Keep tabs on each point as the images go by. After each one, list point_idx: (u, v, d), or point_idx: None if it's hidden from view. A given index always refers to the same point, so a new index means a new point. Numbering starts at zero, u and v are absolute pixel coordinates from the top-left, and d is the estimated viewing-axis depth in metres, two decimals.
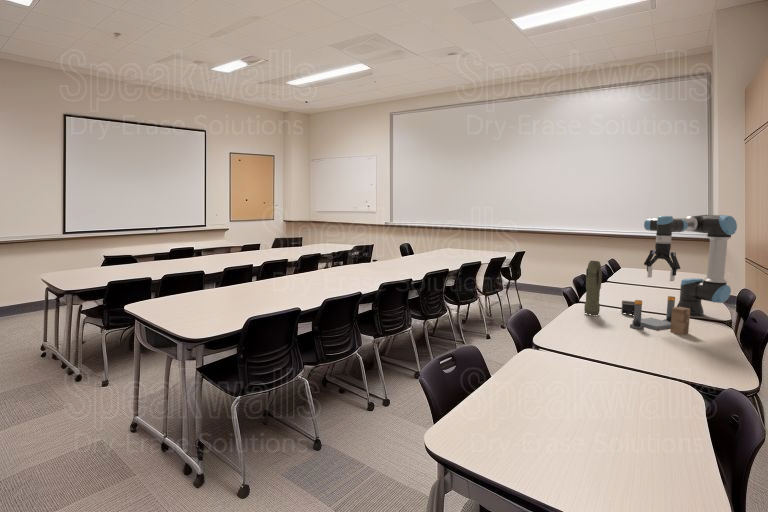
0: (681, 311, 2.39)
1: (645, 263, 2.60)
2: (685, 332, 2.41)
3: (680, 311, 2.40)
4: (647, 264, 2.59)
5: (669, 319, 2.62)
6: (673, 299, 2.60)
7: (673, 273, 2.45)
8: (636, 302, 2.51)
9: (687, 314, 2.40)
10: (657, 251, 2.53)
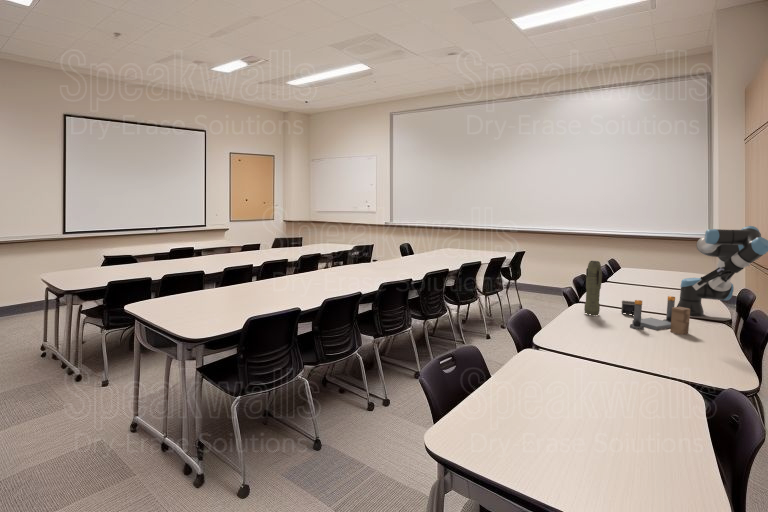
0: (681, 311, 2.39)
1: (705, 281, 2.21)
2: (685, 332, 2.41)
3: (680, 311, 2.40)
4: (706, 281, 2.21)
5: (669, 319, 2.62)
6: (673, 299, 2.60)
7: None
8: (636, 302, 2.51)
9: (687, 314, 2.40)
10: (727, 270, 2.17)
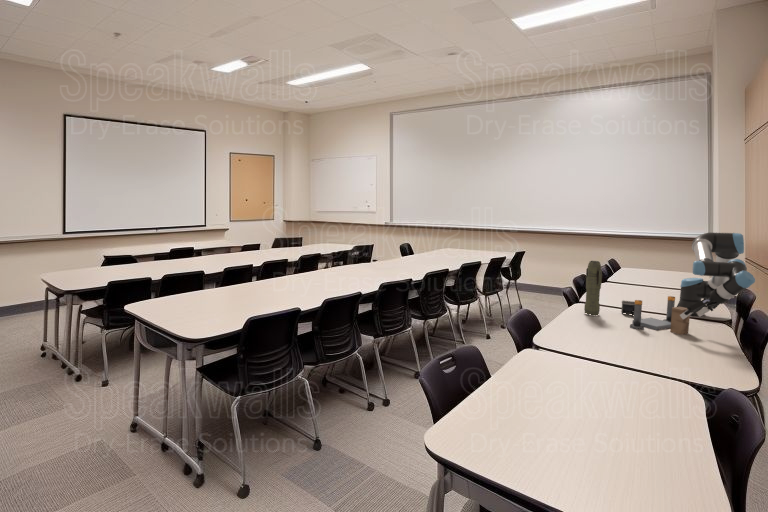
0: (681, 311, 2.39)
1: (692, 311, 2.27)
2: (685, 332, 2.41)
3: (680, 311, 2.40)
4: (693, 311, 2.28)
5: (669, 319, 2.62)
6: (673, 299, 2.60)
7: None
8: (636, 302, 2.51)
9: None
10: (712, 301, 2.24)
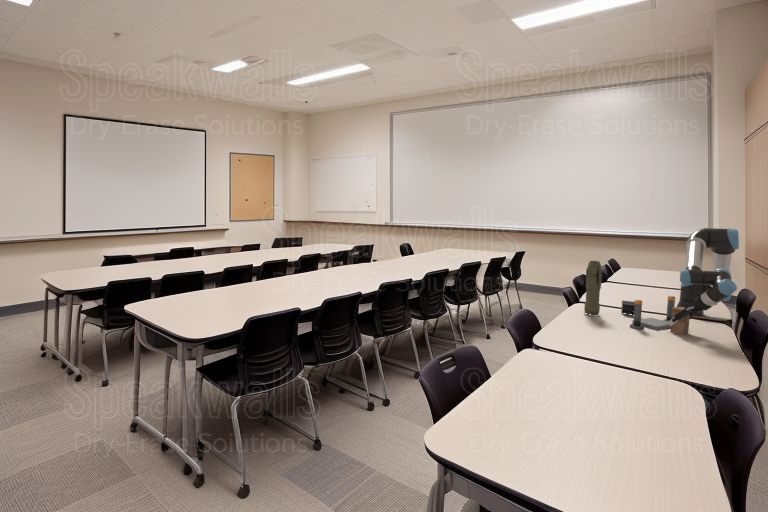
0: None
1: (679, 318, 2.38)
2: (685, 332, 2.41)
3: (680, 311, 2.40)
4: (679, 318, 2.39)
5: (669, 319, 2.62)
6: (673, 299, 2.60)
7: None
8: (636, 302, 2.51)
9: None
10: (697, 308, 2.32)
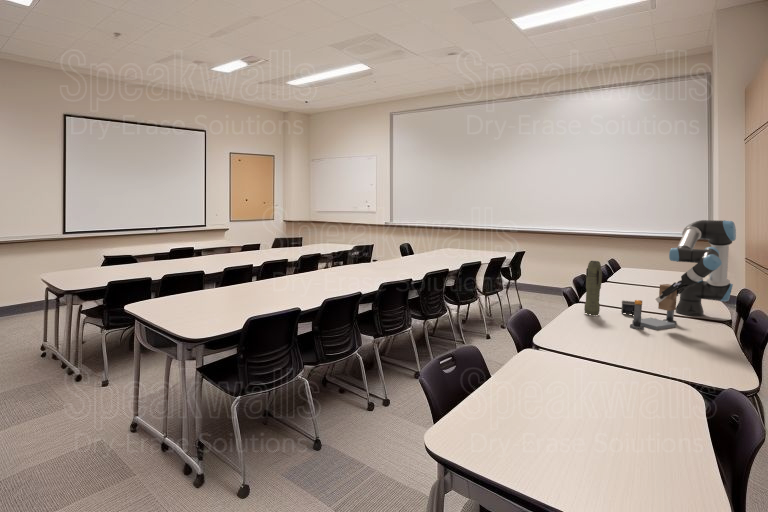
0: None
1: (666, 295, 2.43)
2: (672, 308, 2.47)
3: None
4: (667, 295, 2.44)
5: (669, 319, 2.62)
6: None
7: None
8: (636, 302, 2.51)
9: None
10: (683, 284, 2.37)
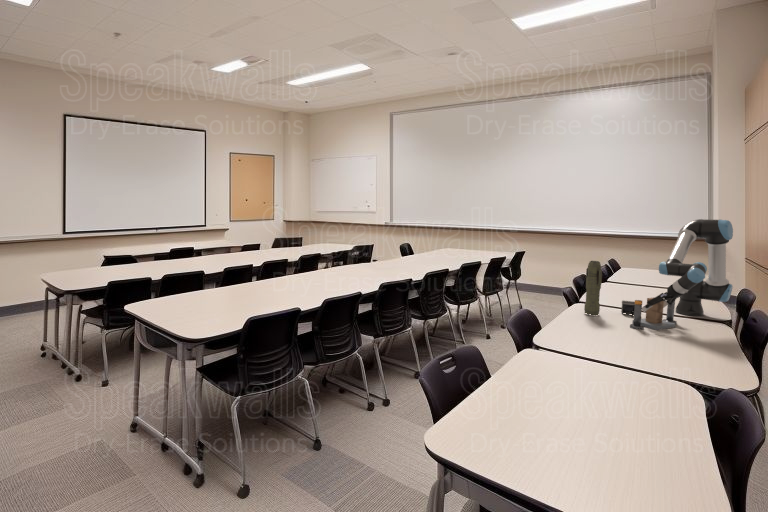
0: None
1: (651, 304, 2.50)
2: (659, 321, 2.56)
3: None
4: (652, 304, 2.51)
5: (669, 319, 2.62)
6: None
7: None
8: (636, 302, 2.51)
9: (661, 305, 2.55)
10: (669, 295, 2.47)
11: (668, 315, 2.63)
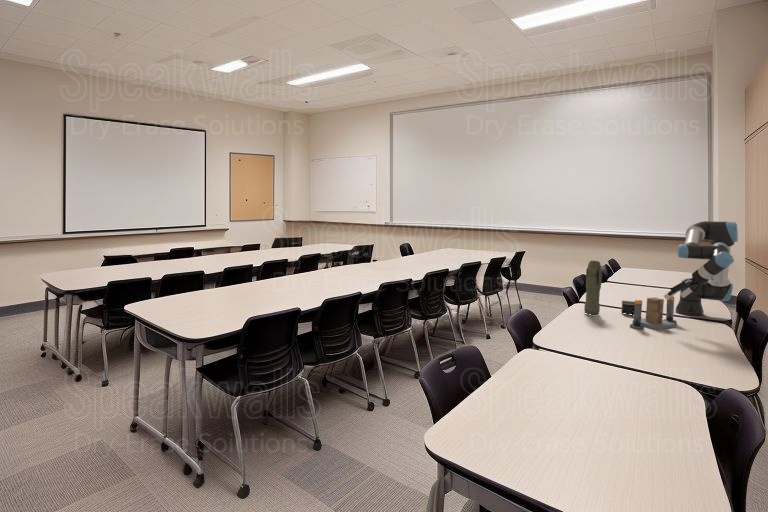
0: (655, 301, 2.54)
1: (675, 291, 2.37)
2: (659, 321, 2.56)
3: (654, 301, 2.54)
4: (676, 291, 2.38)
5: (669, 319, 2.62)
6: (672, 299, 2.61)
7: None
8: (636, 302, 2.51)
9: (661, 305, 2.55)
10: (694, 282, 2.34)
11: (668, 315, 2.63)
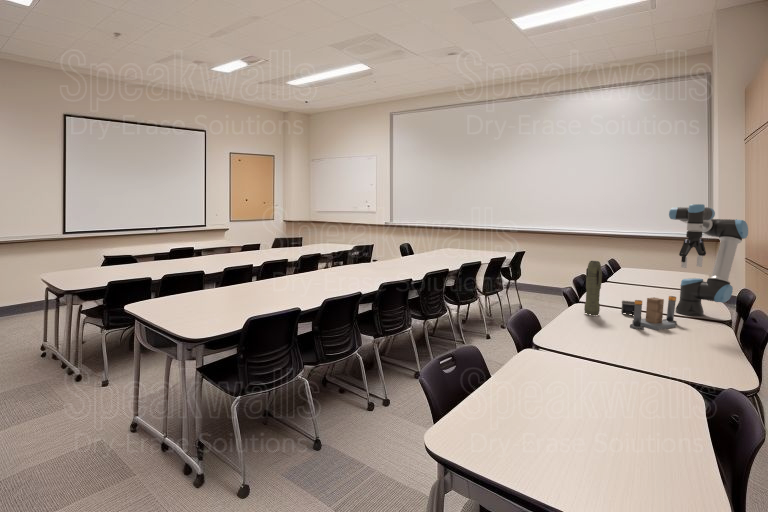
0: (655, 301, 2.54)
1: (684, 254, 2.50)
2: (659, 321, 2.56)
3: (654, 301, 2.54)
4: (685, 254, 2.50)
5: (670, 319, 2.62)
6: (674, 299, 2.60)
7: None
8: (636, 302, 2.51)
9: (661, 305, 2.55)
10: (693, 240, 2.52)
11: (668, 315, 2.63)
